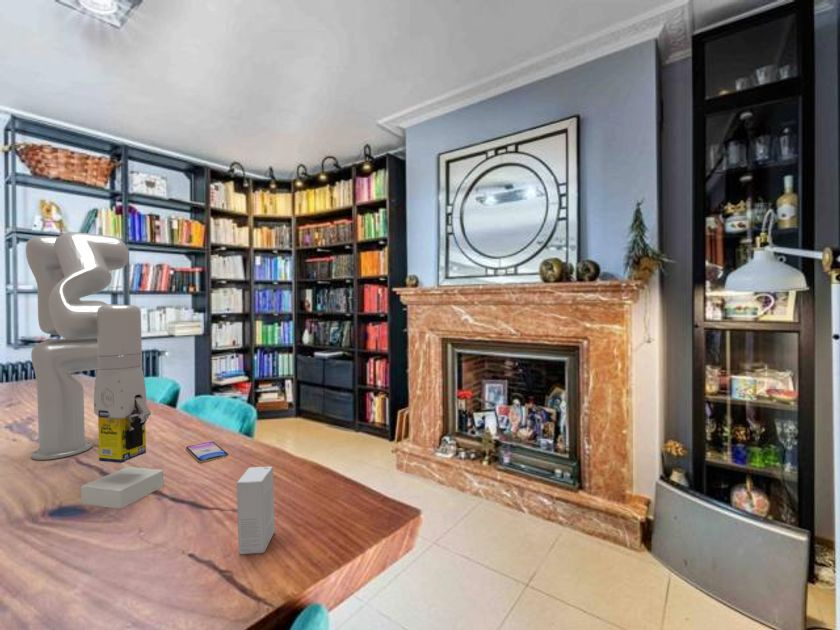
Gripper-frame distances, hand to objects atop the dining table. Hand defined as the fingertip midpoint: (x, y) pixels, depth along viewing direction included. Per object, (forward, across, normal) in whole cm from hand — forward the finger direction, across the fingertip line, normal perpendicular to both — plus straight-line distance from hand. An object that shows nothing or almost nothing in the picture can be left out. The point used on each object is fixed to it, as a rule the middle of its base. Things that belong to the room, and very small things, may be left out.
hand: (122, 444), depth 84 cm
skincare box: (+11, +40, -5) cm, 42 cm away
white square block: (+11, 0, 0) cm, 11 cm away
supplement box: (+3, 0, 0) cm, 3 cm away
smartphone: (+11, -4, +24) cm, 27 cm away
